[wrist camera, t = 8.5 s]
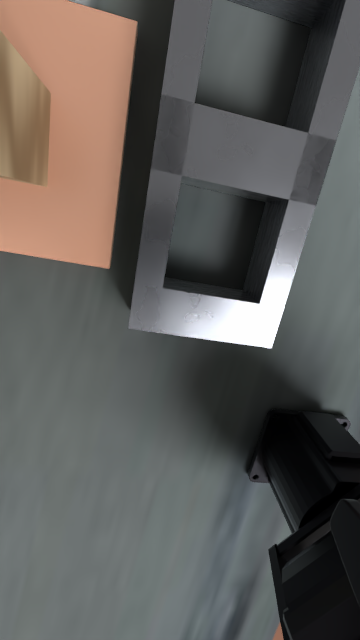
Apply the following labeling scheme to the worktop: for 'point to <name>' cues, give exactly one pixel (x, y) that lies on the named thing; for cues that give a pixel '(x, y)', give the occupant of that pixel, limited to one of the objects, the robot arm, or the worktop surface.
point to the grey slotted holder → (242, 172)
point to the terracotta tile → (72, 129)
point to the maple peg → (22, 119)
